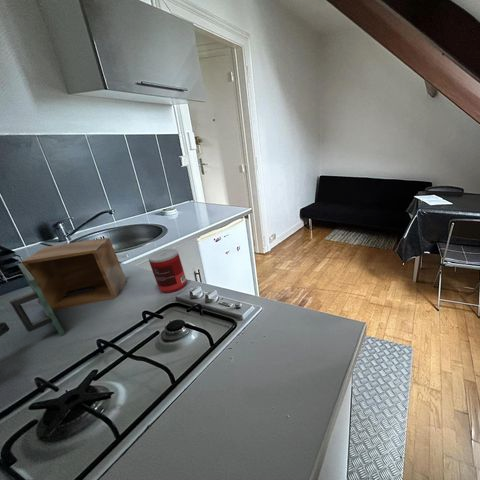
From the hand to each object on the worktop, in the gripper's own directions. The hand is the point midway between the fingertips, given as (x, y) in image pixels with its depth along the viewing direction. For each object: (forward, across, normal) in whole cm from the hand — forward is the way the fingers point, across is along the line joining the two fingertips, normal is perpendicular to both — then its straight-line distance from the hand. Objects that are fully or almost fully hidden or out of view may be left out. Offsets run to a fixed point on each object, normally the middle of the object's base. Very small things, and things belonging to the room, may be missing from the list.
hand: (3, 326), depth 55 cm
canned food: (+23, -23, +8) cm, 33 cm away
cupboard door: (+8, +2, +7) cm, 11 cm away
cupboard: (+22, 0, +7) cm, 23 cm away
